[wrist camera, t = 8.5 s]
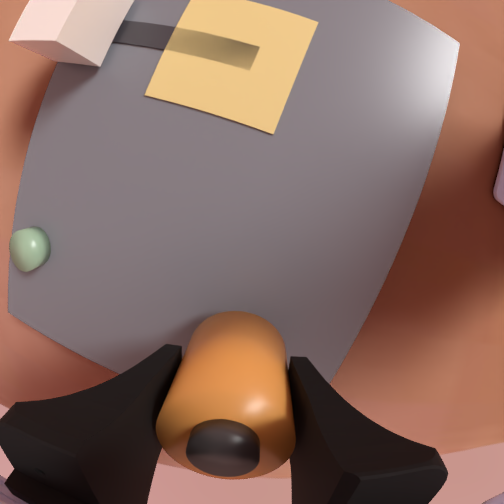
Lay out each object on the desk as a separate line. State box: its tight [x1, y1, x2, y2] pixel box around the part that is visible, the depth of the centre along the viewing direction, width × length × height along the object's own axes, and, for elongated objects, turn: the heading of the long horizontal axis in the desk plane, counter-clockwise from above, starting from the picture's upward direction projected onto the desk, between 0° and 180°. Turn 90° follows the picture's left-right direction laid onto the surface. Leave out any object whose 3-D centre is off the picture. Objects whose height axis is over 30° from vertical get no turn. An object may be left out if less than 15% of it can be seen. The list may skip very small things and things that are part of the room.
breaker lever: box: [9, 0, 134, 67], centre depth 8 cm, size 3×4×4 cm
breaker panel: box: [8, 0, 460, 384], centre depth 13 cm, size 18×22×4 cm
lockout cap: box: [156, 311, 296, 479], centre depth 10 cm, size 4×4×6 cm
